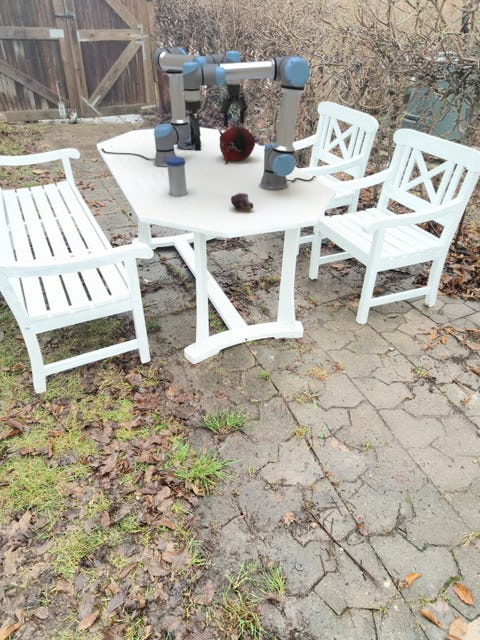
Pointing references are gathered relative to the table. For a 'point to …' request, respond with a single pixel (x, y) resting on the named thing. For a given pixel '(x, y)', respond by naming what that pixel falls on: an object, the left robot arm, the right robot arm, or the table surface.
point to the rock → (241, 202)
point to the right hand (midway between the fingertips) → (196, 147)
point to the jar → (177, 180)
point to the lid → (175, 161)
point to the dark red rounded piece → (236, 144)
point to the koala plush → (187, 143)
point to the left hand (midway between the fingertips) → (234, 125)
